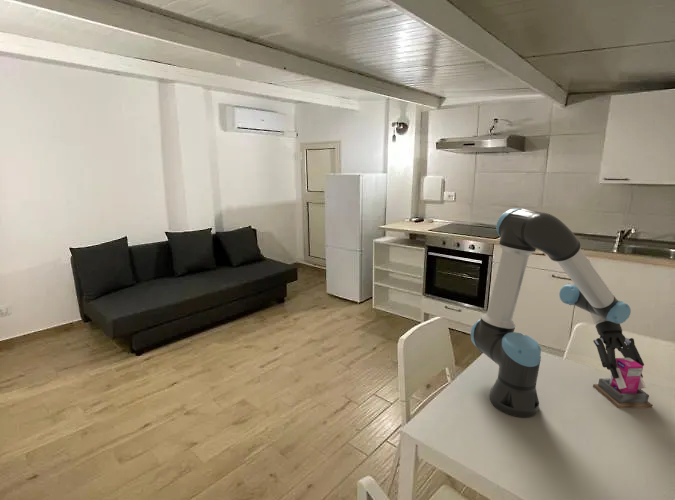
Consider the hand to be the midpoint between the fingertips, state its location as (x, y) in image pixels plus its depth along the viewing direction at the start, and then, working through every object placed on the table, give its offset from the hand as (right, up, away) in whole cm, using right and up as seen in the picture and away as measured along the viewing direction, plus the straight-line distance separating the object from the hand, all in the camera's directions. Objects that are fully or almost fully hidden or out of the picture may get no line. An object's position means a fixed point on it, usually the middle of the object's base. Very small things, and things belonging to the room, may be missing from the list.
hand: (632, 388), depth 128 cm
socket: (0, -5, +5) cm, 7 cm away
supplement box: (0, -3, +4) cm, 5 cm away
